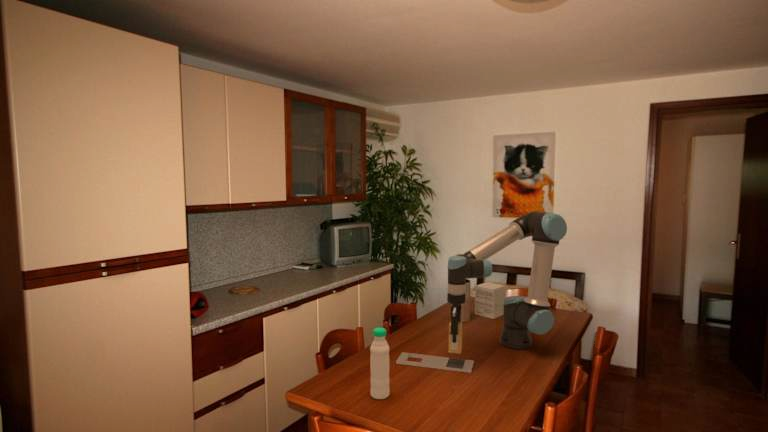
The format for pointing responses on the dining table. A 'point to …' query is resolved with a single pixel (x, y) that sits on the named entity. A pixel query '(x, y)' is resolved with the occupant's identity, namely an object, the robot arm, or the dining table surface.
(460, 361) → the white flat board
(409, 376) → the dining table surface
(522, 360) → the dining table surface
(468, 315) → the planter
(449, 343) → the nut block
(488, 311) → the supplement box
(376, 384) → the water bottle
